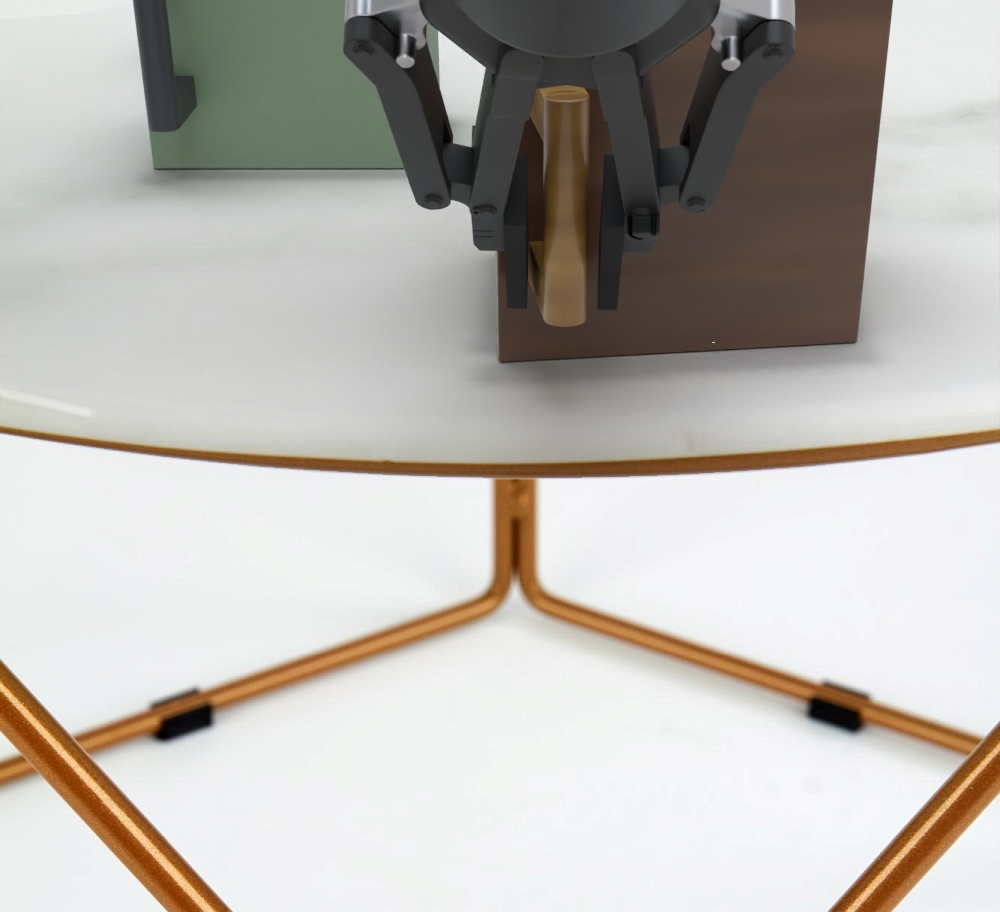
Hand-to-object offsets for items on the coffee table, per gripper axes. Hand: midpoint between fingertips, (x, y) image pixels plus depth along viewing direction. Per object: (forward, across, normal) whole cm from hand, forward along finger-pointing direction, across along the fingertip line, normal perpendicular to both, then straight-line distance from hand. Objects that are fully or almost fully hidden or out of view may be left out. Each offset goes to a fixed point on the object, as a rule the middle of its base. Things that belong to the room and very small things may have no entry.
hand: (562, 275), depth 66 cm
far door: (+22, -15, +16) cm, 32 cm away
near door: (+3, +5, -3) cm, 6 cm away
